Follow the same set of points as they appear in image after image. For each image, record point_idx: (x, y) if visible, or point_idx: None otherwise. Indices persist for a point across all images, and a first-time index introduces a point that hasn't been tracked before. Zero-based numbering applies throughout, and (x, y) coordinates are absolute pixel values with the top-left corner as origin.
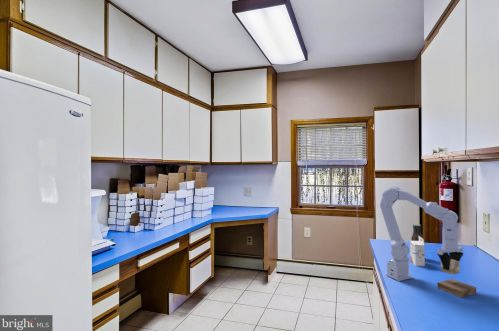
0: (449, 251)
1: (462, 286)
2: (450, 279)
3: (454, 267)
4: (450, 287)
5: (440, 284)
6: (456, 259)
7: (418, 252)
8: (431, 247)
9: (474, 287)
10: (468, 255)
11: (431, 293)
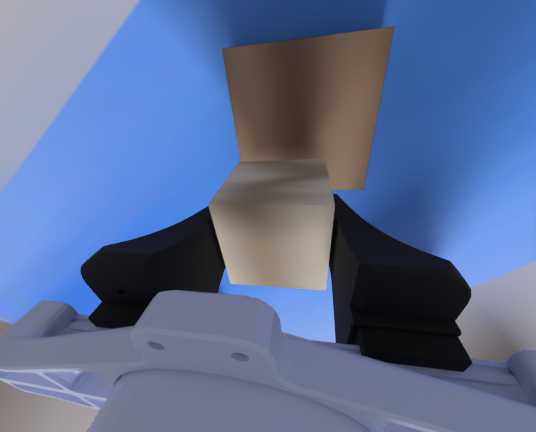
0: (425, 386)
1: (290, 95)
2: None
3: (294, 182)
4: (376, 112)
5: (365, 171)
6: (207, 239)
7: None
8: None
9: (234, 51)
10: (25, 290)
11: (460, 144)
